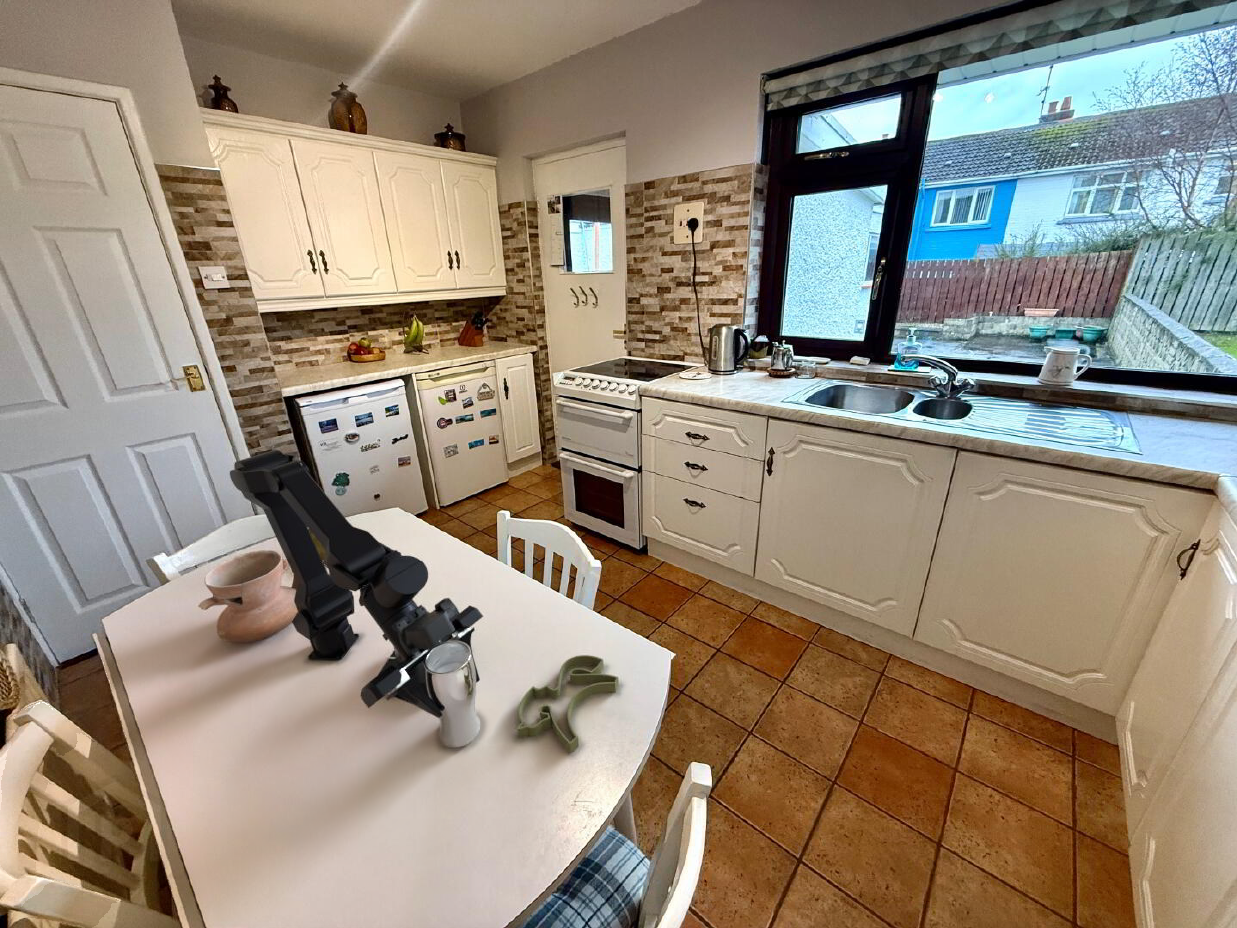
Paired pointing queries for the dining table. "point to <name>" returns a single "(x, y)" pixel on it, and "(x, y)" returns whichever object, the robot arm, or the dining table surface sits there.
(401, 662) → the hob knob
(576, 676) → the cookie cutter
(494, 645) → the dining table surface
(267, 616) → the ceramic jug
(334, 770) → the dining table surface
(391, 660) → the hob panel
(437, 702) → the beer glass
